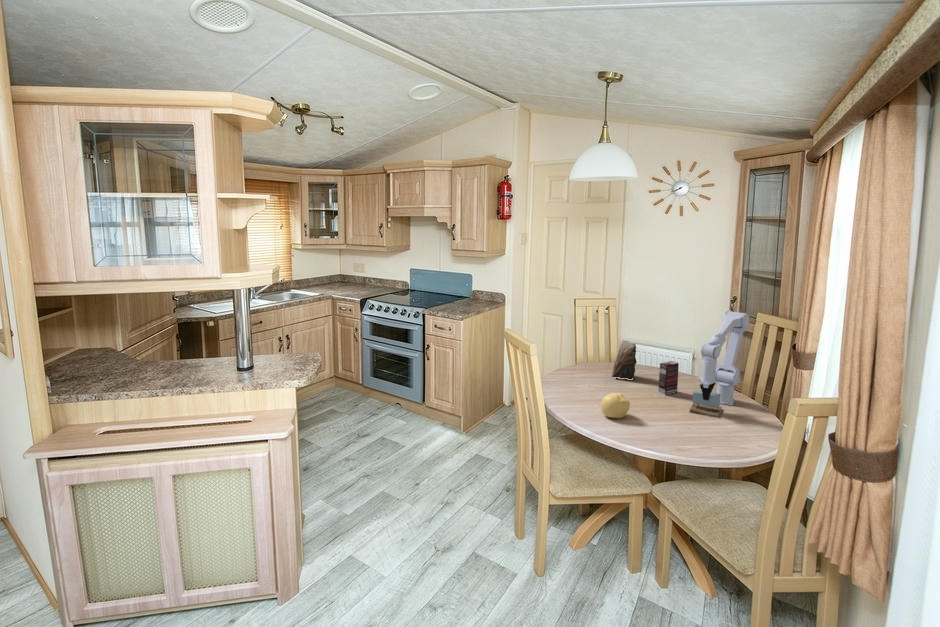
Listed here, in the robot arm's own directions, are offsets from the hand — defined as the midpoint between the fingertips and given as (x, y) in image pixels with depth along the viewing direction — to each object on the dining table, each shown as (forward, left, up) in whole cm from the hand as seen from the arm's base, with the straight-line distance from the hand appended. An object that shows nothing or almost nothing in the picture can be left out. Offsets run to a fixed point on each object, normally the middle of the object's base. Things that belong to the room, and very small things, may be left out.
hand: (706, 398), depth 231 cm
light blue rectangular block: (0, 0, -2) cm, 2 cm away
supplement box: (-16, -20, -6) cm, 26 cm away
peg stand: (0, 0, -6) cm, 6 cm away
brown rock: (-29, -47, -6) cm, 56 cm away
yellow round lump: (+28, -34, -6) cm, 44 cm away
